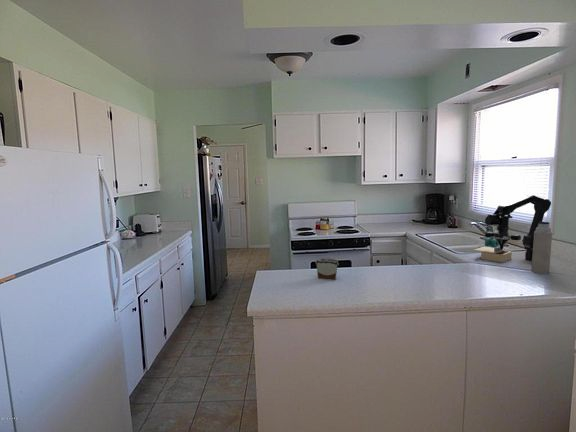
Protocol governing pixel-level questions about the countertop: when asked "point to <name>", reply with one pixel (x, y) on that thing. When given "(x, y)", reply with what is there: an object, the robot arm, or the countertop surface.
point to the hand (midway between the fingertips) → (501, 249)
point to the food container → (326, 268)
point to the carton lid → (489, 249)
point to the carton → (497, 256)
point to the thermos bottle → (542, 248)
